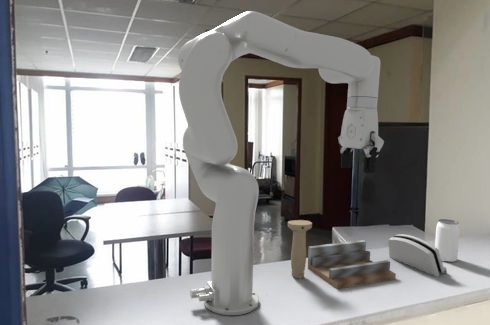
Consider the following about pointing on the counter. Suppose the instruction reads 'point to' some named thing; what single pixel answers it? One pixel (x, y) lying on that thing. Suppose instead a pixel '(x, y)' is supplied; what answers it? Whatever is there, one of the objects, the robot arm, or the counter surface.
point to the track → (347, 264)
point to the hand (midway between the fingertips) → (357, 170)
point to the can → (447, 239)
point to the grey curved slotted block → (416, 253)
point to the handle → (299, 246)
